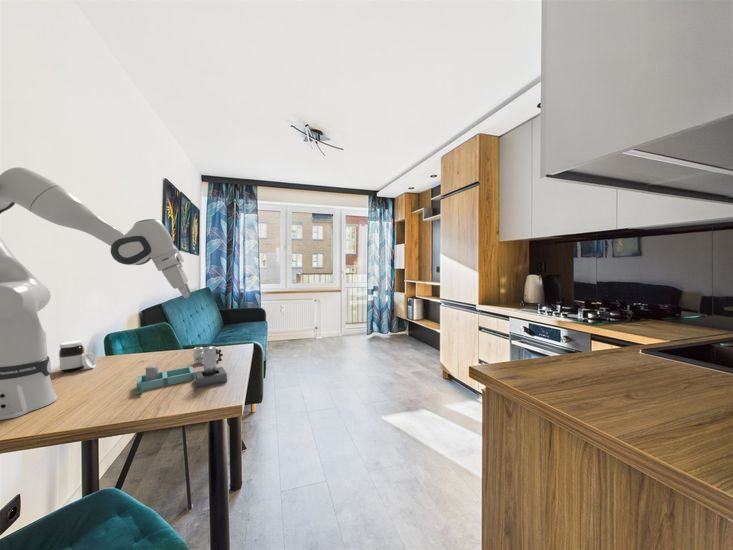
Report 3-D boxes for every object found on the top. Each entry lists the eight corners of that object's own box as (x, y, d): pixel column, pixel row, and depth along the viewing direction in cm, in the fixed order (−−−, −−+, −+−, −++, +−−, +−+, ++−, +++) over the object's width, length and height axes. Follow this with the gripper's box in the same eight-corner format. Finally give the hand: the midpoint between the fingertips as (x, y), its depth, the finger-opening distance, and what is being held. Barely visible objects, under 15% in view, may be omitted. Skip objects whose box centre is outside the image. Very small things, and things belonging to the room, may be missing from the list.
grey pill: (205, 384, 109) (203, 349, 108) (204, 380, 112) (202, 347, 111) (218, 381, 111) (216, 347, 110) (216, 377, 114) (214, 345, 114)
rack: (137, 394, 104) (135, 373, 104) (138, 385, 111) (137, 366, 111) (195, 382, 113) (194, 363, 113) (192, 374, 121) (191, 357, 121)
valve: (188, 365, 133) (211, 367, 130) (188, 349, 133) (211, 351, 130) (201, 360, 140) (223, 362, 136) (200, 345, 139) (222, 347, 136)
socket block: (198, 391, 105) (197, 379, 105) (195, 382, 113) (194, 371, 112) (227, 384, 110) (226, 373, 110) (222, 377, 118) (222, 366, 117)
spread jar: (61, 369, 132) (59, 342, 132) (96, 362, 140) (94, 337, 139) (59, 376, 123) (57, 347, 123) (97, 369, 131) (95, 341, 131)
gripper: (163, 264, 121) (181, 296, 124) (155, 266, 103) (176, 303, 106) (180, 258, 123) (197, 289, 127) (175, 258, 105) (195, 295, 109)
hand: (188, 295), depth 116 cm, fingers open, 8 cm apart
